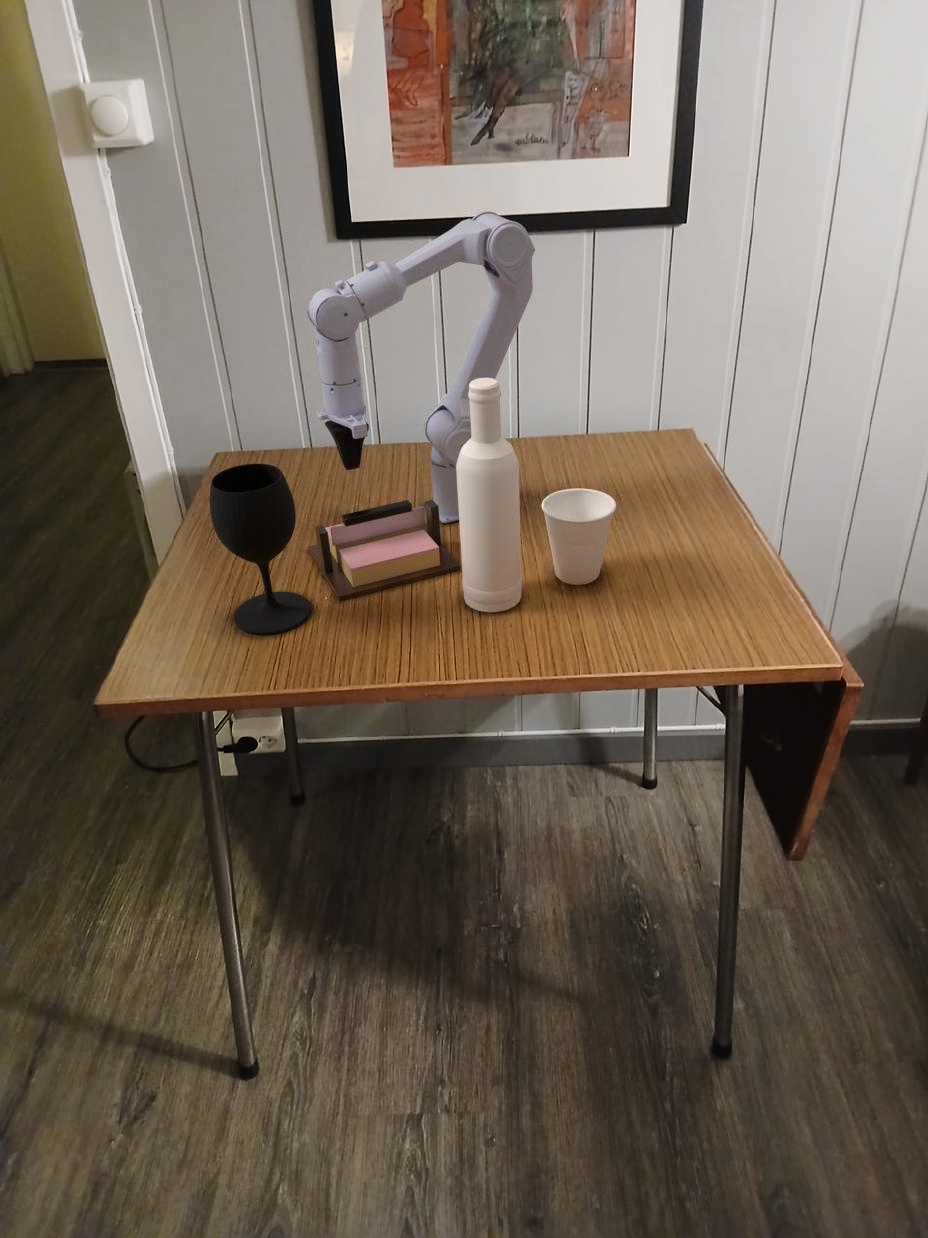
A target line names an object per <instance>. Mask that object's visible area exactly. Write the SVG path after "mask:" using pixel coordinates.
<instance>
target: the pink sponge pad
mask: <svg viewBox="0 0 928 1238" xmlns="http://www.w3.org/2000/svg"><path fill="white" fill-rule="evenodd" d="M339 525H343V523H339V524H335V525H330V526H326V527H325V529H326V530H327V532H328V537H329V544H330V551H331V553H332V555H333V557H334V558H335V560H336V561H337V563H340V564H341V569H342V570H343V572H344V573H345V575H346V577H347V578H348V580H349V581H350V583H351V584H352V586H353V587H357V586H361V585H365V584H369V583H373V582H376V581H380V580H384V579H388V578H392V577H396V576H400V575H404V574H408V573H412V572H416V571H420V570H424V569H428V568H432V567H436V566H440V556H439V547H438V545H437V544H436V543H435V542H434V541H433V540H432V538H431V537H430V536H429V535H428V534H427V533H426V532H425V530H420V525H418V526H414V527H410V528H406V529H402V530H397V531H393V532H389V533H385V534H381V535H376V536H372V537H368V538H364V539H360V540H355V541H351V542H347V543H343V544H339V545H334V546H333V544H332V537H331V530H330V527H335V526H339Z"/></svg>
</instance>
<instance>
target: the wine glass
mask: <svg viewBox="0 0 928 1238" xmlns="http://www.w3.org/2000/svg"><path fill="white" fill-rule="evenodd" d="M209 512H210V519H211V523H212V526H213V529H214V531H215V534H216V536H217V538H218V539H219V541H220V542H221V544H222V545H223V546H224V547H225V548H226V549H227V550H228V551H229V552H231V553H232V554H233V555H235V556H237V557H238V558H239V559H242V560H244V561H247V562H249V563H253V564H256V565H257V567H258V570H259V572H260V575H261V579H262V585H263V589H264V593H261V594H259V595H256V596H254V597H251V598H249V599H247V600H246V601H244V602H242V603H241V604H240V606H238V607H237V609H236V610H235V612H234V615H233V621H234V623H235V626H236V627H237V628H238V629H239V630H241V631H242V632H243V633H247V634H250V635H256V636H270V635H278V634H283V633H286V632H290V631H292V630H293V629H296V628H297V627H300V626H301V625H302V624H303V623H304V622H306V621H307V620H308V619H309V617H310V615H311V613H312V612H311V611H312V606H311V602H310V601H309V600H308V599H307V598H306V597H305V596H303V595H301V594H299V593H295V592H291V591H273V587H272V581H271V574H270V563H271V561H272V560H274V559H275V558H276V557H278V555H280V554H281V553H282V552H283V551H284V550H285V548H286V547H287V545H289V543H290V541H291V539H292V537H293V534H294V532H295V528H296V520H297V519H296V518H297V515H296V504H295V500H294V496H293V493H292V490H291V487H290V486H289V483H288V480H287V479H286V477H285V475H284V473H283V470H281V469H280V468H279V467H277V466H275V465H272V464H268V463H246V464H239V465H235V466H231V467H229V468H226V469H224V470H221V471H220V472H218V473H217V474H215V475H214V476H213V477H212V478H211V481H210V489H209Z"/></svg>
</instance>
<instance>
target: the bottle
mask: <svg viewBox="0 0 928 1238" xmlns="http://www.w3.org/2000/svg"><path fill="white" fill-rule="evenodd" d="M500 386H501V385H500V382H499V381H498V380H497V379H496V378H495V379H493V378H478V379H475V380H473V381H471V382H470V384H469V392H468V397H469V399H470V417H471V438H470V439H469V440H468V441H467V442H466V443H465V444H464V445H463V446H462V448H461V450H460V454H459V457H458V460H457V464H456V473H457V490H458V506H459V520H458V521H459V537H460V555H461V556H460V558H461V571H462V572H461V573H462V579H461V584H462V585H461V587H462V590H463V599H464V602H465V604H466V605H467V606H469V608H471V609H472V610H473V609H474V610H475V611H478V612H483V613H489V614H490V613H500V612H505V611H508V610H510V609H512V608H514V607H516V606H517V605H518V604H519V603H520V601H521V599H522V588H523V578H522V577H523V576H522V560H521V559H522V555H521V554H522V553H521V552H522V551H521V510H520V509H521V508H520V507H521V505H520V504H521V503H520V502H521V501H520V463H519V459H518V457H517V454H516V452H515V449H514V447H513V445H512V444H511V442H509V441H508V440H507V439H505V438H504V437H503V436H502V423H501V421H502V420H501V419H502V417H501V396H502V391H501V388H500Z"/></svg>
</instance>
